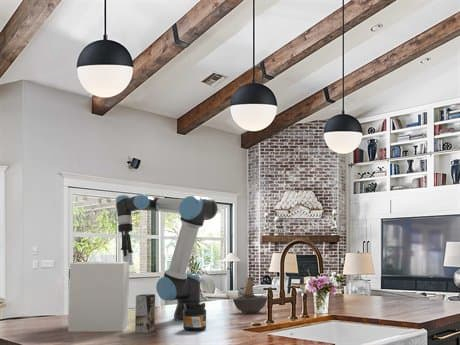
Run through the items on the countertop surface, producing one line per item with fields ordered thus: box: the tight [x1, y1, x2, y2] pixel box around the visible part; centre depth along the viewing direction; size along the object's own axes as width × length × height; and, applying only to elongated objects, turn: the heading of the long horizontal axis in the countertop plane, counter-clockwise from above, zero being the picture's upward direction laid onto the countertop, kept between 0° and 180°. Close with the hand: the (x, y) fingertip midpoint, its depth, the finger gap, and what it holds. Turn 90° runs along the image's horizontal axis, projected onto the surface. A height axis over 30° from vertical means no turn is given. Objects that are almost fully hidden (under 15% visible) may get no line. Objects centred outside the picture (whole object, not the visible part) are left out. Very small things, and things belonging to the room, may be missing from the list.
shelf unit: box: [67, 261, 130, 333], centre depth 289 cm, size 24×21×30 cm
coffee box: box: [134, 293, 156, 334], centre depth 278 cm, size 9×6×16 cm
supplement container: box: [182, 301, 207, 332], centre depth 283 cm, size 10×10×12 cm
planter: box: [232, 276, 268, 314], centre depth 352 cm, size 15×17×20 cm
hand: (128, 263), depth 329 cm, fingers open, 13 cm apart
